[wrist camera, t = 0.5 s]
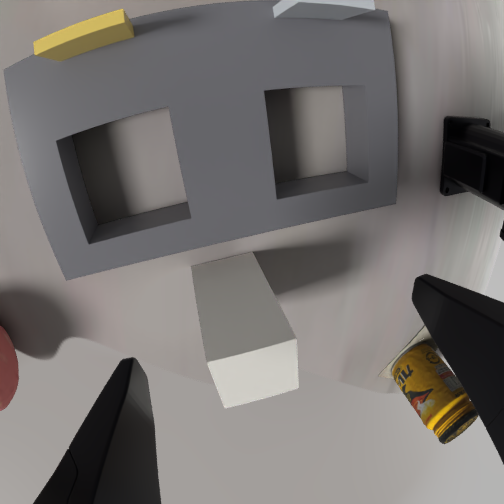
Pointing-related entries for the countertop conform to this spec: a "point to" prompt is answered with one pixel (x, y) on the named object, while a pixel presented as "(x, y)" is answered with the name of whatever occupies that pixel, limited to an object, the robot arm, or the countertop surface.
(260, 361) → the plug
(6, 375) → the apple
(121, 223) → the socket plate
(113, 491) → the robot arm
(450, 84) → the countertop surface
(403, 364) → the condiment
